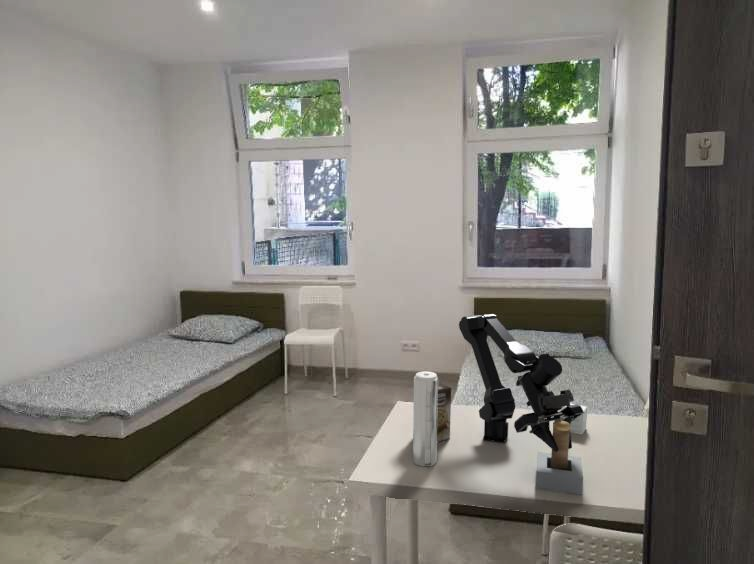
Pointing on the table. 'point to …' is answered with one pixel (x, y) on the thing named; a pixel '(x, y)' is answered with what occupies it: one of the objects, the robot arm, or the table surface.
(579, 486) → the socket block
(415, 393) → the air filter
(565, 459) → the peg
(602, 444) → the table surface
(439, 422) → the coffee box
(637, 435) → the table surface
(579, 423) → the product box
